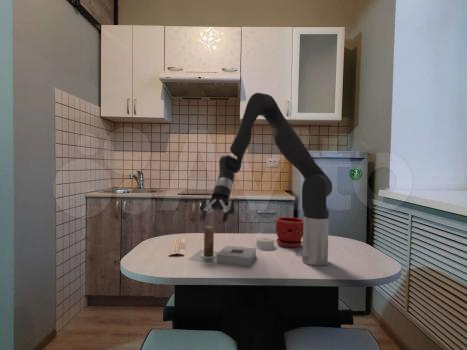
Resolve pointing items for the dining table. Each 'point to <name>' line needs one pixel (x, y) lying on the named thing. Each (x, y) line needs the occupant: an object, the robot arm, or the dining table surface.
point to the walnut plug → (208, 241)
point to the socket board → (228, 256)
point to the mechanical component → (265, 244)
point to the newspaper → (177, 246)
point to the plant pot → (289, 231)
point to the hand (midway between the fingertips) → (213, 220)
